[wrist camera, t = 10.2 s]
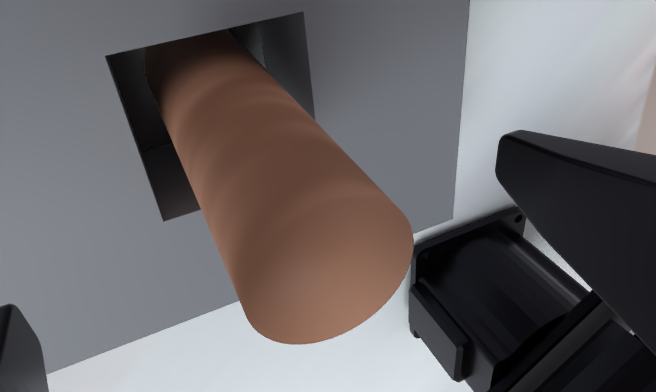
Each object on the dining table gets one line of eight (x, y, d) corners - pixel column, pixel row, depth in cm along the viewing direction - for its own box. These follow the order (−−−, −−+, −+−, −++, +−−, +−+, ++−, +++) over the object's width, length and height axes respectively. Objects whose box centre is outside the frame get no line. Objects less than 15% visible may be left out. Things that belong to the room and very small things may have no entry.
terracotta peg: (231, 6, 15) (413, 169, 8) (251, 98, 17) (414, 301, 10) (129, 31, 14) (221, 239, 7) (162, 125, 16) (262, 369, 9)
